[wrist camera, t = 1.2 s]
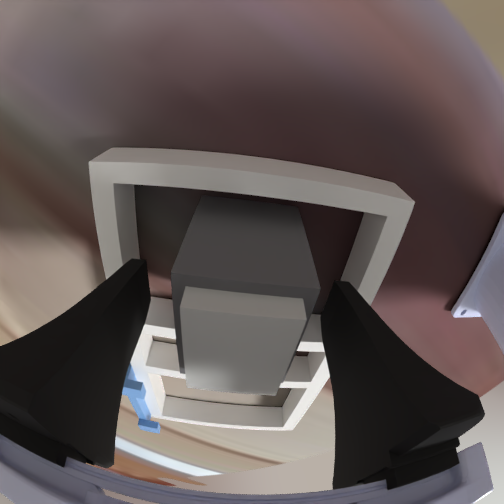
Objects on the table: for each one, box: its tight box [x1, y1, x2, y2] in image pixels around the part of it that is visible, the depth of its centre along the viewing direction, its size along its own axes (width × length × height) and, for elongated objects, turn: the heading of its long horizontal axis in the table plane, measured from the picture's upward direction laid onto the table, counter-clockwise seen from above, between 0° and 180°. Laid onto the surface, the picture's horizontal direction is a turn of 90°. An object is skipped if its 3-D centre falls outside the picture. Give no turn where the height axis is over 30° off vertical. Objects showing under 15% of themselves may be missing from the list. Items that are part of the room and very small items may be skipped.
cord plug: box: [171, 195, 321, 395], centre depth 11 cm, size 4×5×6 cm
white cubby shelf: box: [89, 148, 415, 433], centre depth 15 cm, size 13×21×4 cm, turn 173°
